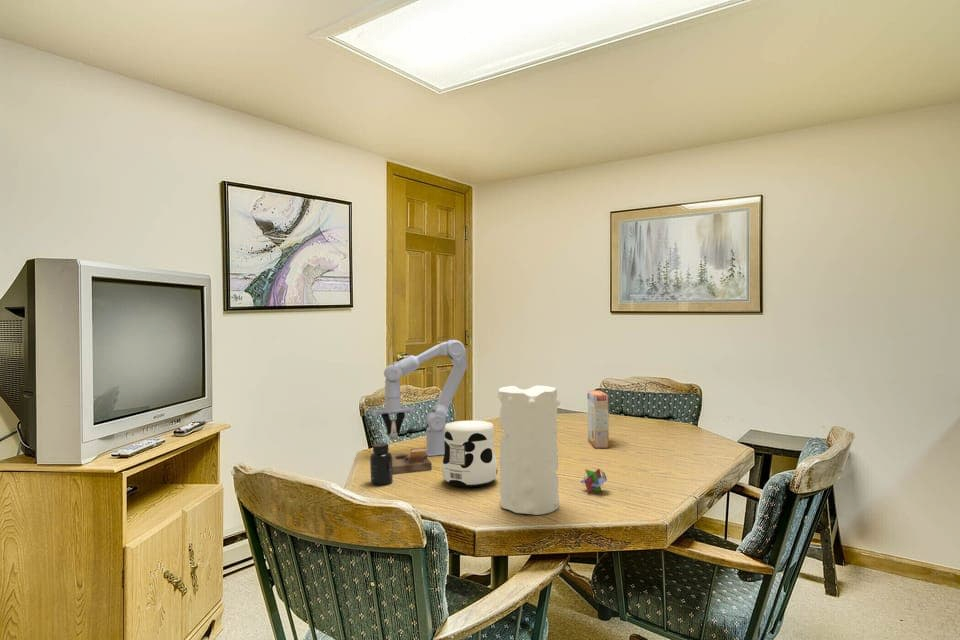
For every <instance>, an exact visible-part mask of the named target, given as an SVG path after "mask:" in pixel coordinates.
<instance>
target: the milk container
mask: <svg viewBox="0 0 960 640" xmlns="http://www.w3.org/2000/svg"><path fill="white" fill-rule="evenodd" d="M444 427H445V431H444V435H445V438H444V445H445V453H444V455H443V459H442V463H441V472H442V477H443V479H444V481H445V482H446V483H448V484H450V485H452V486H456V487H463V488H474V487H481V486H485V485H489V484H491V483H493V482H494V480H495V479H496V477H497V474H498V461H497V458H496V454H495V437H494V436H495V428H494V424H493V423H492V422H489V421H484V420H457V421H452V422H448V423H445V426H444Z"/></svg>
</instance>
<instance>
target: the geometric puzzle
mask: <svg viewBox="0 0 960 640" xmlns="http://www.w3.org/2000/svg"><path fill="white" fill-rule="evenodd" d="M584 471H585V474H586V476H585V477H584V478H583V479H581V481H580V483H581V484H583V485H584V486H585V489H586V492H587V494H591V493H592V492H593V491H595V492H598V493H603V491H604V490H603V489H602V488H601V487H603V485H604V483H606V482H607V481H608V479H607V475H606V473H605V472H604V471H603V470H601V469H600V468H596V470H595V471H593V470H590V469H585V470H584ZM601 485H602V486H601Z"/></svg>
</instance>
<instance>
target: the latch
mask: <svg viewBox="0 0 960 640" xmlns="http://www.w3.org/2000/svg"><path fill="white" fill-rule="evenodd" d="M426 450H427V447H417V448H410V452H409V453H410V456H409V460H417V459H424V456H425V455H426Z"/></svg>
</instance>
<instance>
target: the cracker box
mask: <svg viewBox="0 0 960 640" xmlns="http://www.w3.org/2000/svg"><path fill="white" fill-rule="evenodd" d="M586 395H587V441H588V442H589V443H590V444H591V446H593V448H594V449H609V448H610V445H609V443H610V441H609V439H610V438H609V436H610V435H609V433H610V431H609V427H610V426H609V425H610V424H609V420H610V419H609V394H607V393H606V392H603V390H587V394H586Z"/></svg>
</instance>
